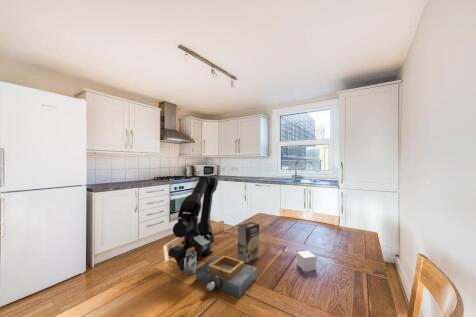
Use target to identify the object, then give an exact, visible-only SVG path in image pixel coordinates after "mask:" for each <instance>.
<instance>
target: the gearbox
mask: <svg viewBox="0 0 476 317" xmlns="http://www.w3.org/2000/svg"><path fill="white" fill-rule="evenodd" d="M257 279H258V267H256V266H254V265H249V264H248V263H247V264H246V263H245V262H244V261H241V260H239V259H238V258H233V257H231V256H227V255H222V256H221V255H216V256H214V257H213V258H211V259H209V260H207V261H206V262H205V263H204V264H202V265H200V266H199V267H196V273H195V281H196V280H197V281H198V282H201V283H203V284H206V290H207V292H211V291H213V290H214V291H219V290H220V291H222V292H224V293H227V294H229V295H230V296H231V295H232V296H234V297H236V298H241V296H242V295H243V294H244V293H245V292H246V291H247V290H248V289H249V287H250V286H251V285H252V284H253V283H254V282H255V281H256V280H257Z"/></svg>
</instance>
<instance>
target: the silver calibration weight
mask: <svg viewBox="0 0 476 317" xmlns="http://www.w3.org/2000/svg"><path fill="white" fill-rule="evenodd" d="M196 254H197V252H195V251H188V252H186V255H185V256H187V257H186V258H185V259H184V270H183V273H184V275H186V276H188V275H189V276H190V275H191V276H192V275H194V274H196V269H197V260H196Z"/></svg>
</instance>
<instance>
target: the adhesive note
mask: <svg viewBox="0 0 476 317" xmlns="http://www.w3.org/2000/svg"><path fill="white" fill-rule="evenodd" d="M297 265H298V266H299V267H300V268H301V269H302V270H303V271H302V270H301V269H300V268H299V267H298V266H297ZM296 266H297V267H298V268H299V269H300V270H301V271H302V272H304V271H307V272H310V271H309V270H315V271H317V256H316V255H315V254H313V253H312V252H311V251H310V250H302V251H296Z"/></svg>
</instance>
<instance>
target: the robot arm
mask: <svg viewBox="0 0 476 317" xmlns="http://www.w3.org/2000/svg"><path fill="white" fill-rule="evenodd" d="M217 186H219V180H218V178H216V177H212V176H211V177H210V176H207V175H206V176H205V175H202V176H199V177H198V181H197V183H196V184H195V187H194V189H193V190H192V192H191V193H190V194H188V195H187V196H185V198H184V199H183V201H182V202H181V204H180V207H179V211H178V214H177V218H178V219H177V222H176V223H174V225H173V228H172V233H173V234H174V236H175V237H176V238H179V239H180V238H183V240H182V241H181V245H183V246H180V245H175V246H173V247H170V248H169V249H168V256H169V257H171V258H174V260H175V262H176V263H177V266H178V268H179V270H180V272H184V259H185V258H186V257H187V256H185V255H186V253H187V251H188V250H190V249H192V248H194V252H197V254H196V263H197V262H198V263H199V262H200V260H201V257H203V258H207V257H208V256H210V255H212V254H213V253H214V251H213V250H212V244H213V243H215V234H214V232H213V227H212V225H211V222H210V221H211V212H212V204H213V195H214V193H216V192H215V191H217V189H218V188H217ZM201 200H202V201H201ZM200 212H201V213H200ZM199 216H200V220H199Z"/></svg>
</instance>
